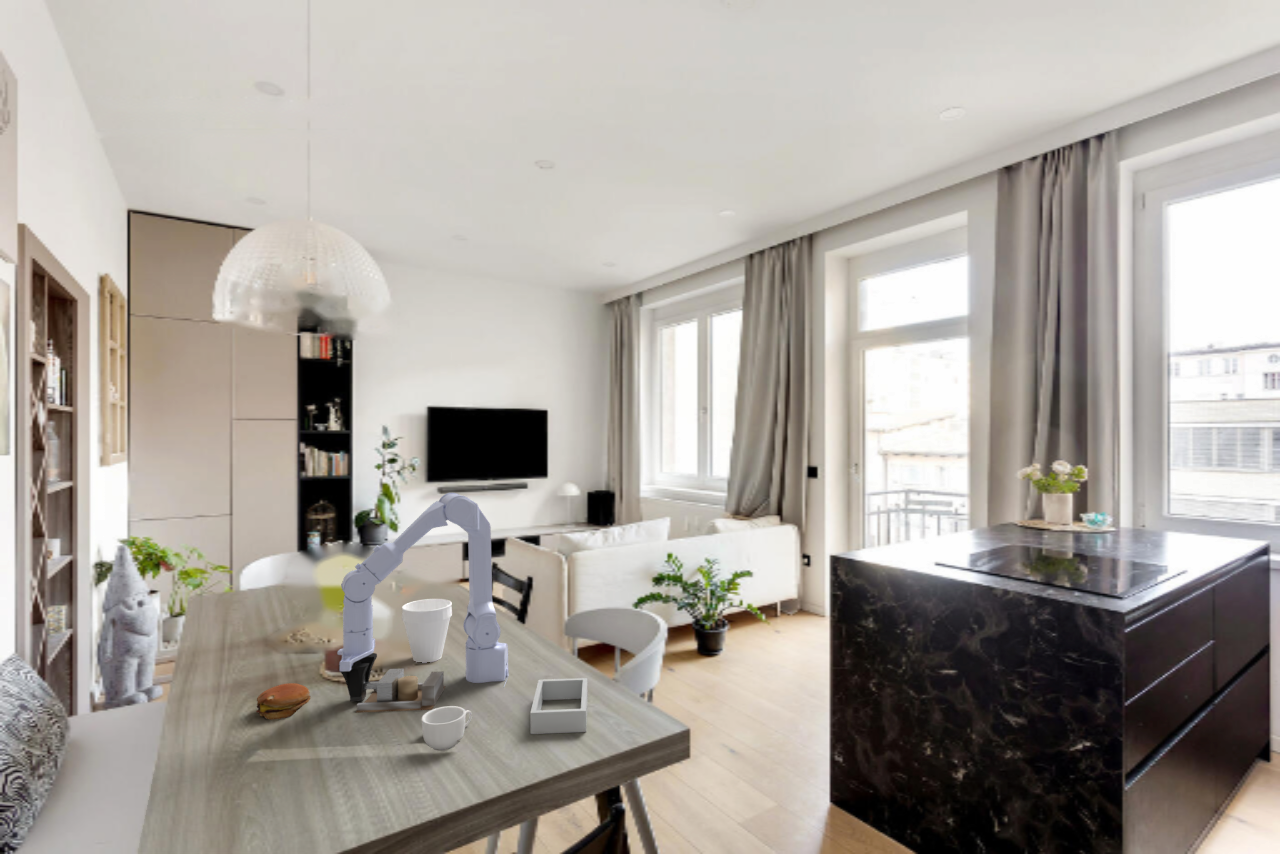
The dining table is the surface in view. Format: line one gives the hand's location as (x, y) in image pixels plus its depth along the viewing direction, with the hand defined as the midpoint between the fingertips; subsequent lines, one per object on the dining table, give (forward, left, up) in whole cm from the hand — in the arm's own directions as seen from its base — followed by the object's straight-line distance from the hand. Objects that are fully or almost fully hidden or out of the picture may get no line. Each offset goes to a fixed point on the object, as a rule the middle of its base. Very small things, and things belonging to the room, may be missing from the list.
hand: (358, 693), depth 134 cm
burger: (+15, 0, -3) cm, 16 cm away
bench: (-9, 0, -3) cm, 10 cm away
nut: (-10, 0, -1) cm, 10 cm away
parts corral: (-43, +7, -3) cm, 43 cm away
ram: (-3, 0, -1) cm, 4 cm away
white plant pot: (-7, -29, -3) cm, 30 cm away
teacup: (-23, +17, -3) cm, 28 cm away
